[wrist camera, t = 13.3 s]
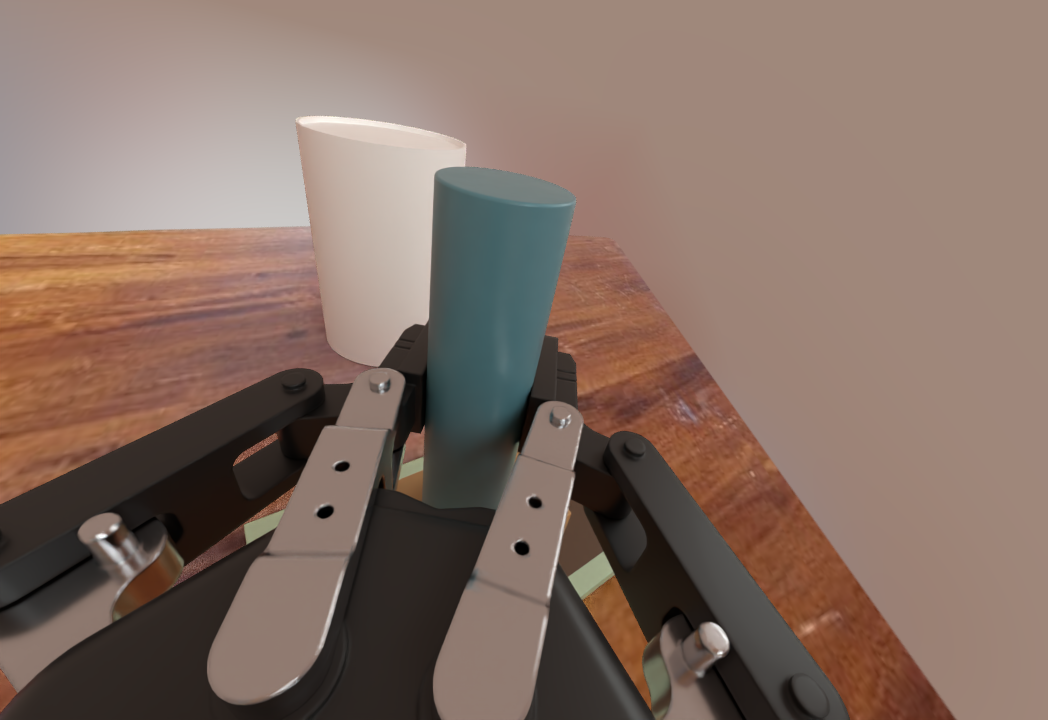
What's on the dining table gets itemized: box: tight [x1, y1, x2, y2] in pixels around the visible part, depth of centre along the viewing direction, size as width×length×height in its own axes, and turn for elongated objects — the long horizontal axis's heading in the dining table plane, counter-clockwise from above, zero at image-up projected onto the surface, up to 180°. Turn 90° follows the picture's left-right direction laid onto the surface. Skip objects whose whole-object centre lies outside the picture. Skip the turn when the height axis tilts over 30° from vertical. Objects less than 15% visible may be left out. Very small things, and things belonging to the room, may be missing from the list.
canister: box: [295, 116, 467, 367], centre depth 39 cm, size 14×14×20 cm
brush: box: [397, 167, 576, 531], centre depth 12 cm, size 7×5×15 cm, turn 126°
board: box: [244, 457, 615, 600], centre depth 26 cm, size 24×14×1 cm, turn 126°
